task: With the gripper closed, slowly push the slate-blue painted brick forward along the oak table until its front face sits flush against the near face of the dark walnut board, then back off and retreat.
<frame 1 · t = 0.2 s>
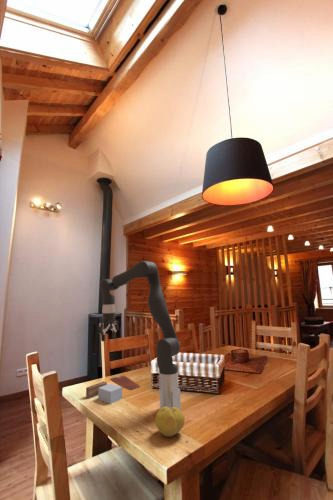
hand: (108, 340, 153), 29 cm above the table, fingers open, 8 cm apart
walnut board: (96, 394, 145), on the table
fruit: (170, 435, 102), on the table
wooden tablet: (125, 384, 162), on the table
slate brick: (110, 399, 138), on the table
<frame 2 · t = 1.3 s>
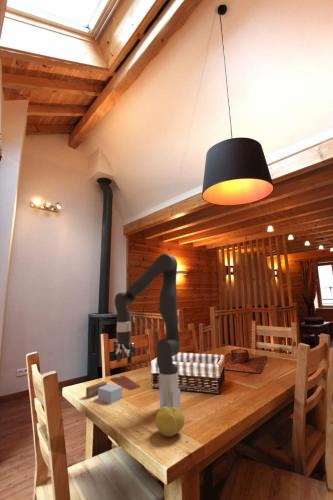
hand: (123, 362, 135), 20 cm above the table, fingers open, 7 cm apart
nothing on the table moved.
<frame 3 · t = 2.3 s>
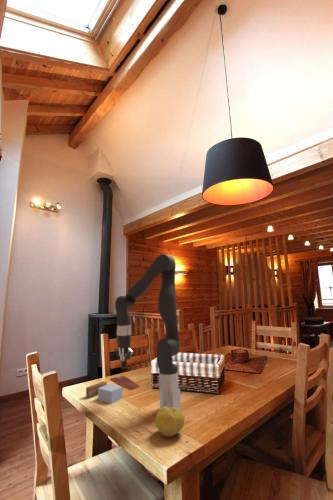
hand: (123, 368, 135), 17 cm above the table, fingers closed
nothing on the table moved.
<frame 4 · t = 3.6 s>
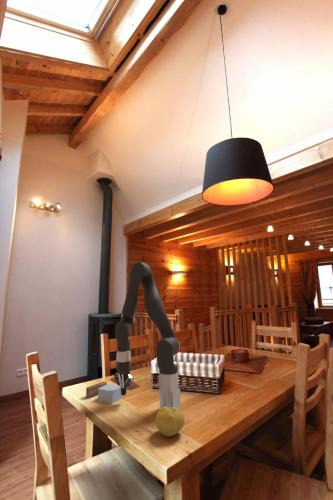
hand: (123, 394, 133), 4 cm above the table, fingers closed
nothing on the table moved.
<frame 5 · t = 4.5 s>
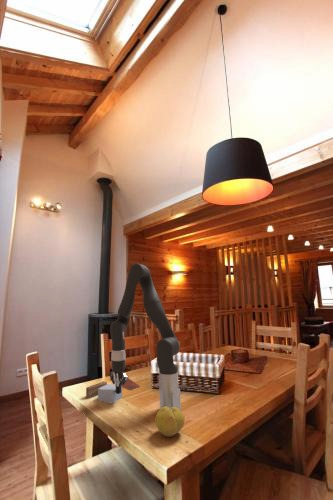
hand: (118, 393, 135), 4 cm above the table, fingers closed
slate brick: (110, 399, 138), on the table, touching gripper
everything else where it was.
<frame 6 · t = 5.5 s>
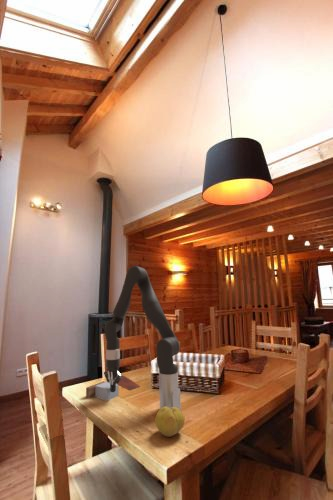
hand: (112, 391, 137), 4 cm above the table, fingers closed
slate brick: (106, 396, 142), on the table, touching gripper
everything else where it was.
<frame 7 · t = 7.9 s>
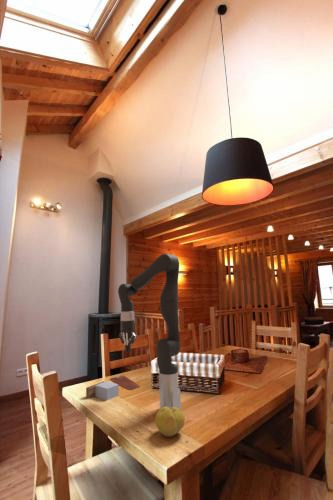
hand: (127, 352, 142), 24 cm above the table, fingers closed
slate brick: (106, 396, 142), on the table
everything else where it was.
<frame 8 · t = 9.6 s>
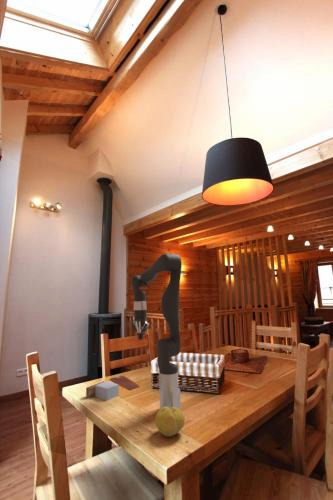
hand: (140, 339, 149), 29 cm above the table, fingers closed
nothing on the table moved.
at the end: slate brick 1.7 cm from the target spot on the table beside the walnut board, on the table; slate brick tilted 0° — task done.
